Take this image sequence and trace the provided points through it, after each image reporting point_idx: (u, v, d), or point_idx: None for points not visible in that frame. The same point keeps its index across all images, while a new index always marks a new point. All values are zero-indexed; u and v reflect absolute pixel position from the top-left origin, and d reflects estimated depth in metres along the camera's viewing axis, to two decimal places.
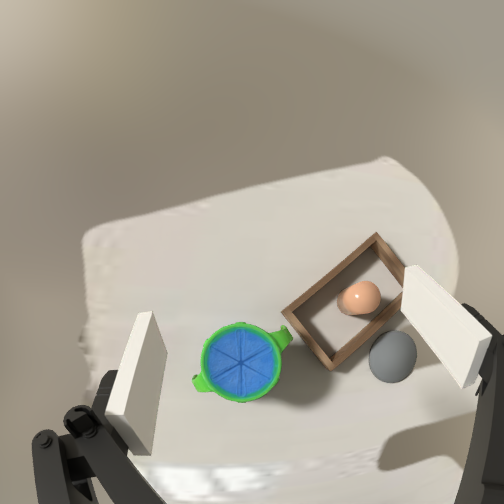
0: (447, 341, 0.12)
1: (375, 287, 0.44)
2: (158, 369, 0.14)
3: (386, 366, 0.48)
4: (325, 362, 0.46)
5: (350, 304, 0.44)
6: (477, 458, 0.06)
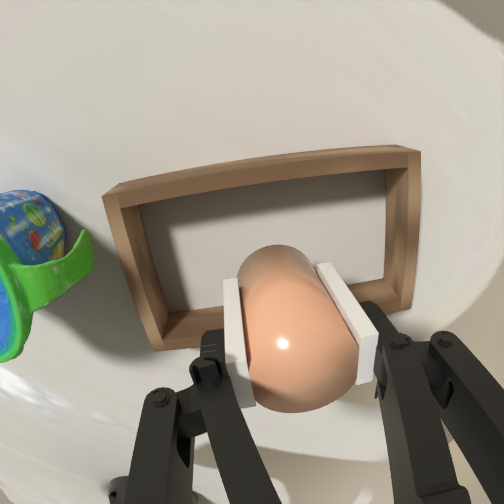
0: None
1: (356, 364, 0.12)
2: None
3: None
4: (149, 334, 0.22)
5: None
6: (401, 468, 0.07)
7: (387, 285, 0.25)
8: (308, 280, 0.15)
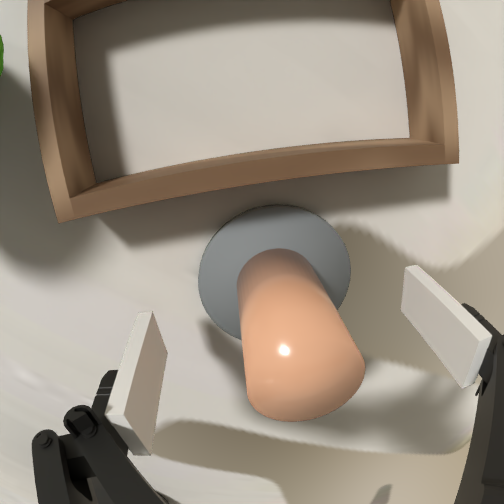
0: (447, 341, 0.12)
1: (358, 372, 0.11)
2: (158, 369, 0.14)
3: None
4: (52, 188, 0.13)
5: (245, 367, 0.12)
6: (477, 458, 0.06)
7: (418, 139, 0.15)
8: (310, 285, 0.14)
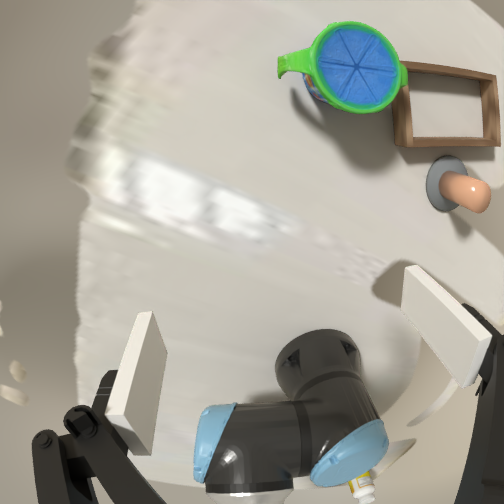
0: (447, 341, 0.12)
1: (489, 196, 0.36)
2: (159, 369, 0.14)
3: None
4: (407, 135, 0.37)
5: (466, 192, 0.37)
6: (477, 458, 0.06)
7: (487, 138, 0.40)
8: None
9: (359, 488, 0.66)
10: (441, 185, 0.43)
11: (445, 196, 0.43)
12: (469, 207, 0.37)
